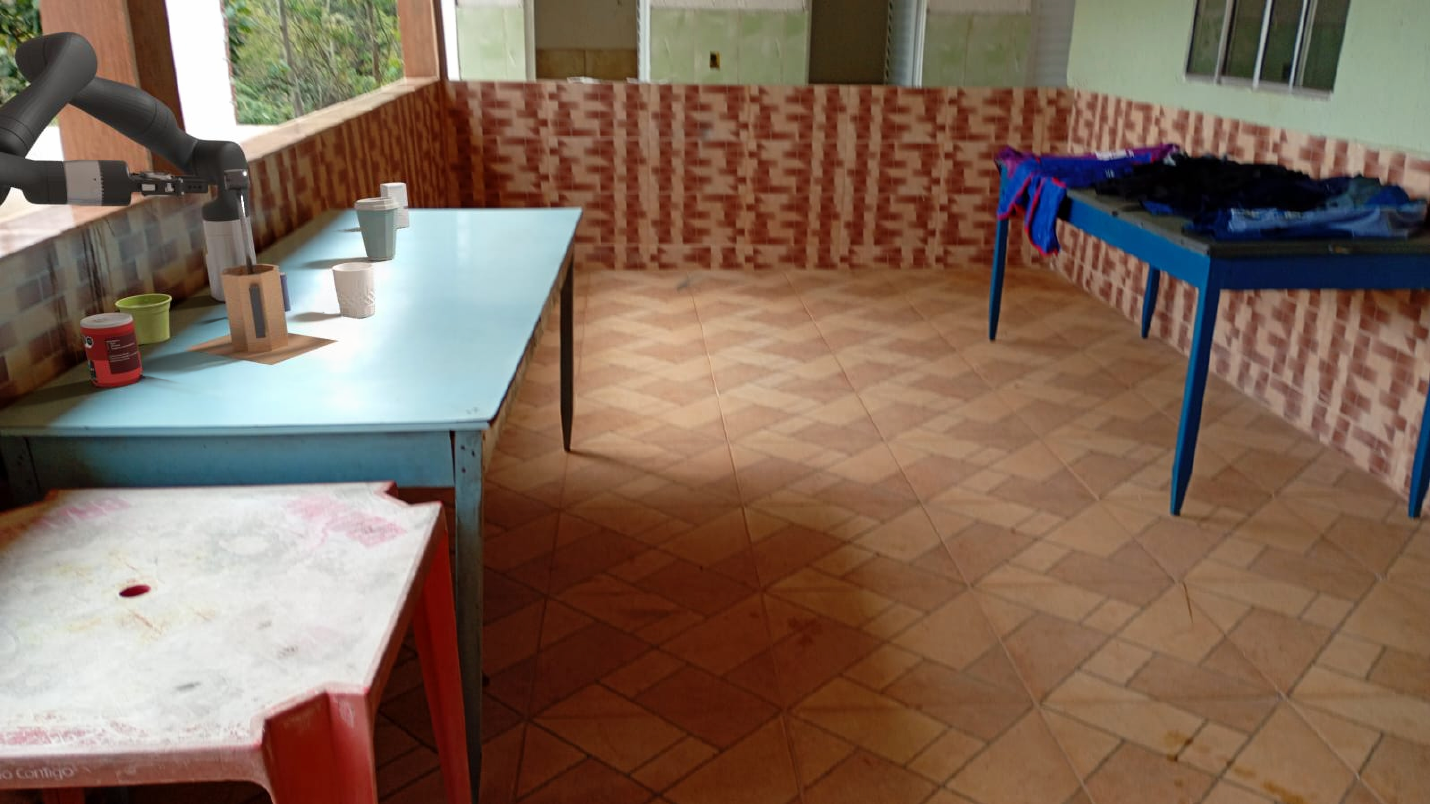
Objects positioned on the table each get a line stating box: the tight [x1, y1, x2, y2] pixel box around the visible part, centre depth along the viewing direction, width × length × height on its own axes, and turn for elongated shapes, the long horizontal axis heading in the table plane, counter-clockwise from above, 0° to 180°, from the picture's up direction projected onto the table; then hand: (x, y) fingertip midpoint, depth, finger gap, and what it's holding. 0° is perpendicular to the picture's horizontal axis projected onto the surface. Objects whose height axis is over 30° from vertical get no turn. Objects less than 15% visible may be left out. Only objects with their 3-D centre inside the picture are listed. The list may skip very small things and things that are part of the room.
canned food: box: [79, 312, 144, 388], centre depth 191 cm, size 8×8×11 cm
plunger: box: [223, 169, 254, 275], centre depth 201 cm, size 6×6×23 cm
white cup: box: [331, 261, 376, 319], centre depth 230 cm, size 8×8×10 cm
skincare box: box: [379, 181, 411, 229], centre depth 318 cm, size 6×4×12 cm
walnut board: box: [183, 332, 338, 366], centre depth 208 cm, size 22×16×1 cm
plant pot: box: [114, 293, 173, 346], centre depth 211 cm, size 9×9×9 cm
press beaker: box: [221, 263, 289, 353], centre depth 205 cm, size 11×10×14 cm
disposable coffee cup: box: [354, 196, 400, 262], centre depth 279 cm, size 11×11×15 cm
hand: (202, 184), depth 195 cm, fingers open, 8 cm apart
